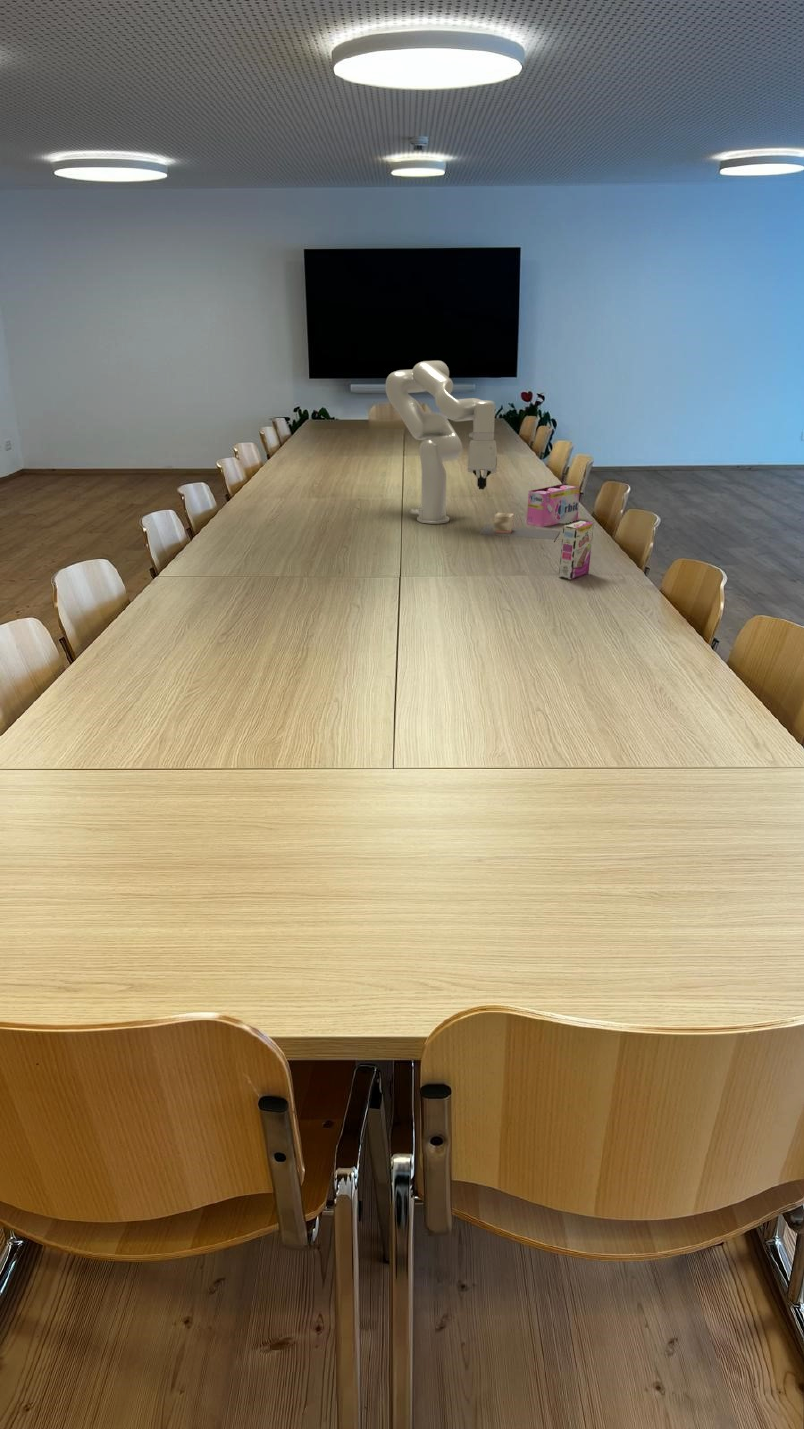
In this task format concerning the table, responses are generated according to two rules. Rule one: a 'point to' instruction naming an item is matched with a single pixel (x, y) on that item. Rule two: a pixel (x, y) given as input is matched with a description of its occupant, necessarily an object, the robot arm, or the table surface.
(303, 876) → the table surface
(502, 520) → the maple cube
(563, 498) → the gum box
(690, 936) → the table surface
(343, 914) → the table surface
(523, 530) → the rubber mat
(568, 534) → the candy bar box
